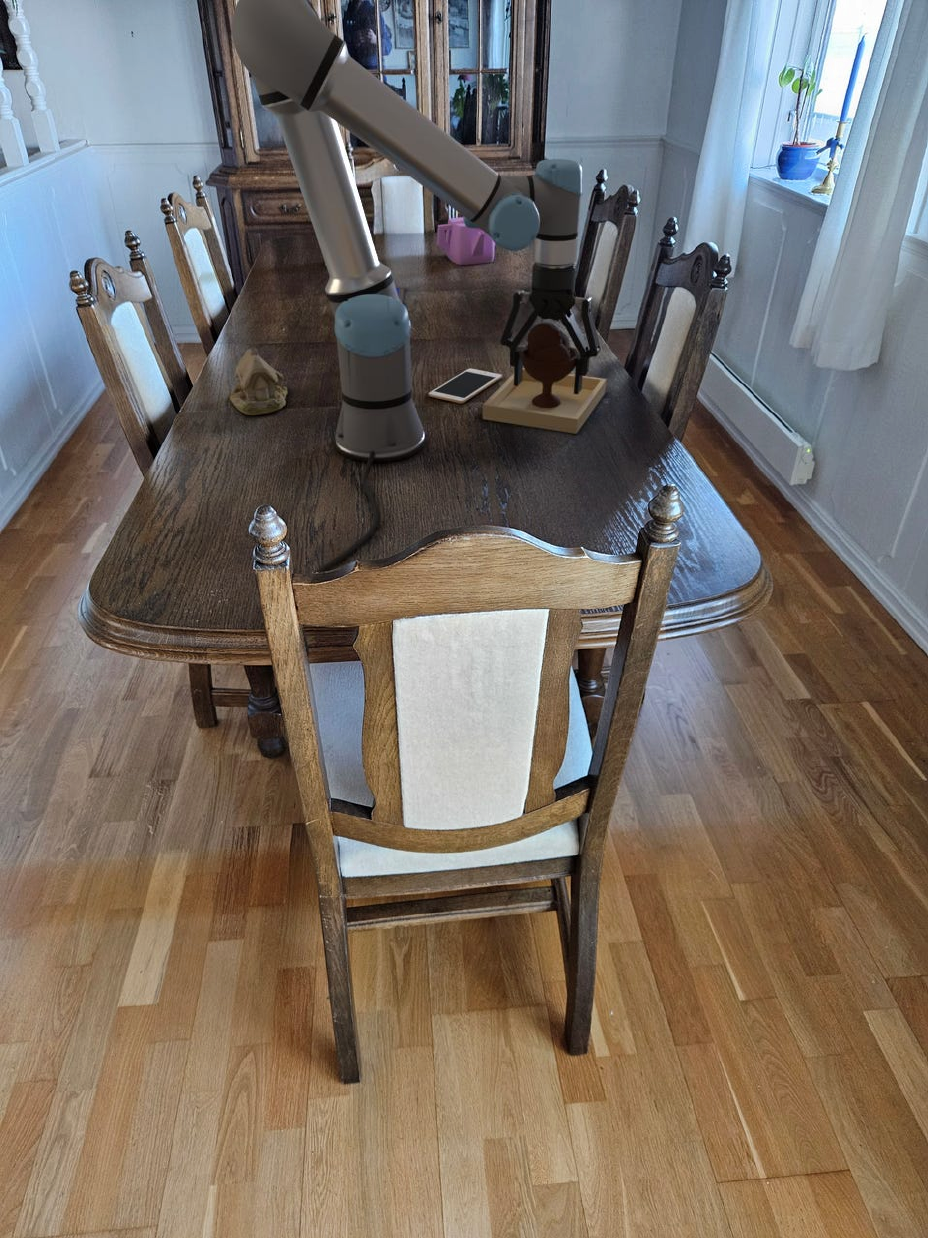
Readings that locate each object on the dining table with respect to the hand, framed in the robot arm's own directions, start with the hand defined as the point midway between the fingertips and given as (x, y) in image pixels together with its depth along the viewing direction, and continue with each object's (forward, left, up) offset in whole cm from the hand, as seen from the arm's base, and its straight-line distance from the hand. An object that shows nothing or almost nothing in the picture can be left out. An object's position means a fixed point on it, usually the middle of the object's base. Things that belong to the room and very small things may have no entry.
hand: (547, 387), depth 154 cm
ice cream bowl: (0, 0, -3) cm, 3 cm away
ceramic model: (-18, +52, -4) cm, 55 cm away
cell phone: (+3, +18, -4) cm, 18 cm away
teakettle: (+100, +55, -4) cm, 114 cm away
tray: (0, 0, -4) cm, 4 cm away
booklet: (+47, +61, -4) cm, 77 cm away
